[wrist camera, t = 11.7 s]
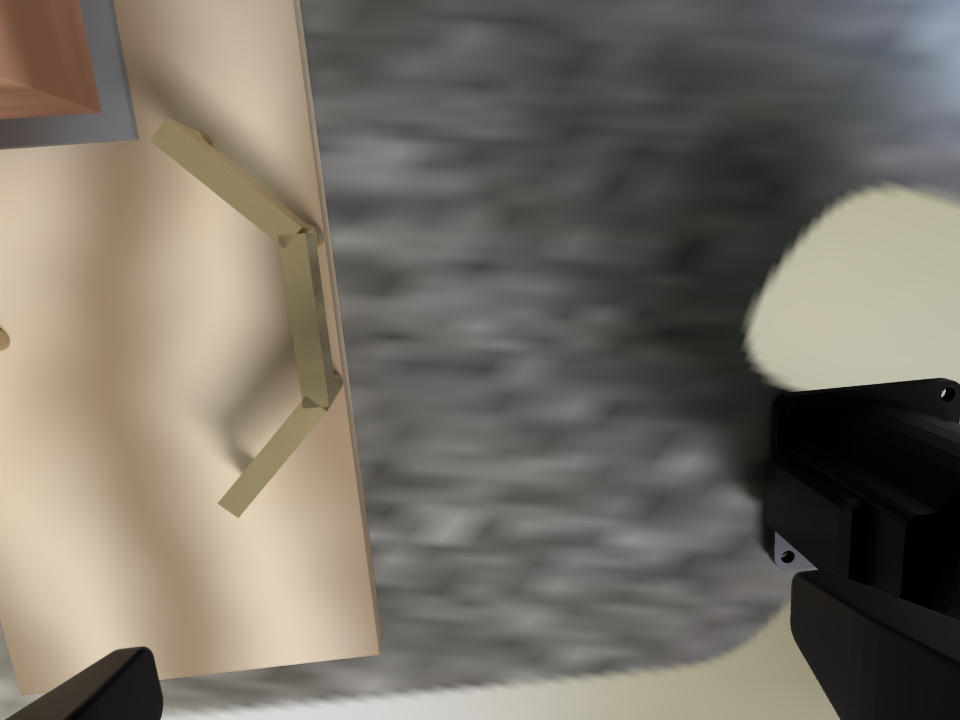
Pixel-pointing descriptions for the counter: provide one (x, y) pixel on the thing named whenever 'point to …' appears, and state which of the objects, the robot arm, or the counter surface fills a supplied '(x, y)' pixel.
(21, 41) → the block
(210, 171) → the bent wooden frame
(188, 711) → the counter surface
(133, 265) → the beige board
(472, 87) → the counter surface
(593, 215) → the counter surface
